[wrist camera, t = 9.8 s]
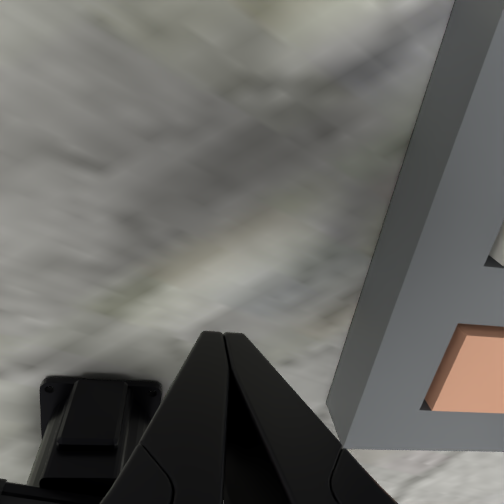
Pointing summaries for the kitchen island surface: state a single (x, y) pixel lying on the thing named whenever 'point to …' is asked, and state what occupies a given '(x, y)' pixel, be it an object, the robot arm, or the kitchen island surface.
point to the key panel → (433, 255)
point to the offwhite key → (498, 247)
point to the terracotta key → (470, 372)
